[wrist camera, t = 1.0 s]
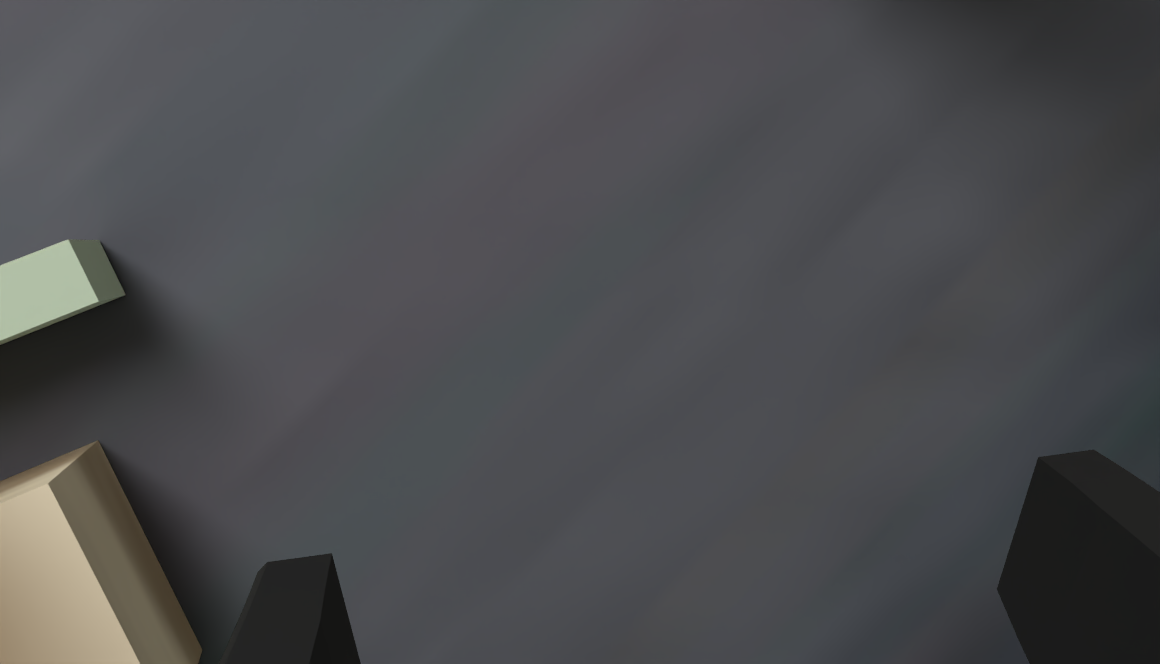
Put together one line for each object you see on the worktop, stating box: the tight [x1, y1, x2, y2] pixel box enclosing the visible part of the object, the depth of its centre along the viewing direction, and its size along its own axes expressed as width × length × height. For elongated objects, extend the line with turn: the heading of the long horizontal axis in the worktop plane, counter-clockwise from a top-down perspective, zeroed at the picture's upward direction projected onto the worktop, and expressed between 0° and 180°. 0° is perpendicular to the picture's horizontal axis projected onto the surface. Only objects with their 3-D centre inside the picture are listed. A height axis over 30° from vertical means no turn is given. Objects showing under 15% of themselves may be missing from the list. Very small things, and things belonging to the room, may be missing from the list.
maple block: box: [0, 441, 202, 664], centre depth 19 cm, size 5×5×4 cm
